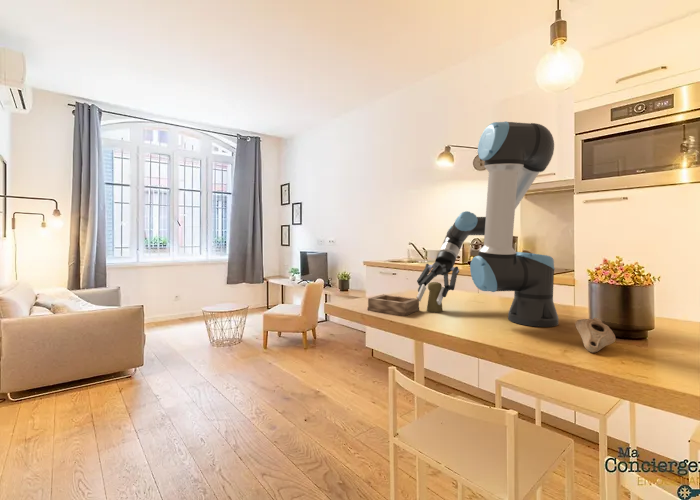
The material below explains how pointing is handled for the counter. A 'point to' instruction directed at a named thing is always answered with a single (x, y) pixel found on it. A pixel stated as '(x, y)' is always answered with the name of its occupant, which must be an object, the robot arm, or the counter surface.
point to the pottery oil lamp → (594, 334)
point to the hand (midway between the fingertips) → (428, 300)
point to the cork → (434, 297)
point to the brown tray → (393, 304)
